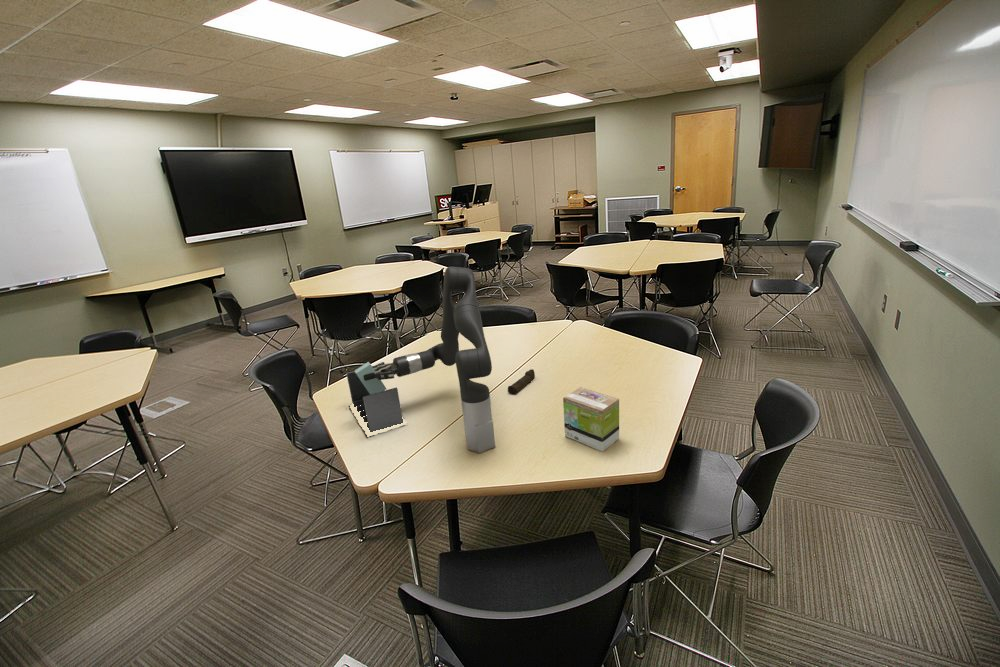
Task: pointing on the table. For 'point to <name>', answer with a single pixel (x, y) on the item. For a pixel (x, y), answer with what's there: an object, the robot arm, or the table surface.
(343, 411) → the table surface
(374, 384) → the tall pale blue pillar
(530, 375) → the hand tool
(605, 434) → the tea box
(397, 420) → the rack
